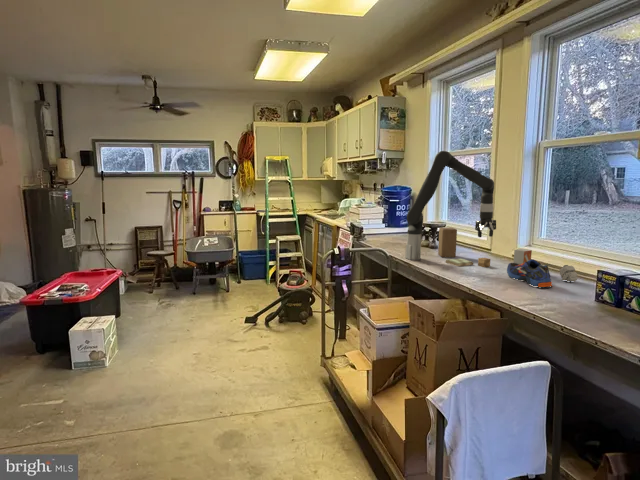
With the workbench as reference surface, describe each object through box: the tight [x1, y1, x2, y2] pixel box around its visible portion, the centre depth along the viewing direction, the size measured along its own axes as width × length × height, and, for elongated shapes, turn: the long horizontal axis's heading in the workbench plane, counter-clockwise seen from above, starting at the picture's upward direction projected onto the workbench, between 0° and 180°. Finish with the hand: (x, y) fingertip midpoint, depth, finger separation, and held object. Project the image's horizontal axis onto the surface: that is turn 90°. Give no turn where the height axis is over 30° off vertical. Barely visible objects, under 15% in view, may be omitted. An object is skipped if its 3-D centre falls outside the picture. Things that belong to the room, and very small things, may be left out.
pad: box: [445, 258, 474, 267], centre depth 267 cm, size 12×12×2 cm
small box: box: [513, 248, 532, 265], centre depth 245 cm, size 8×6×13 cm
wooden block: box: [437, 227, 458, 258], centre depth 290 cm, size 10×10×20 cm
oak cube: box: [477, 257, 491, 268], centre depth 259 cm, size 5×5×5 cm
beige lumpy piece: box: [559, 264, 578, 282], centre depth 222 cm, size 6×7×10 cm
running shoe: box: [506, 259, 553, 288], centre depth 222 cm, size 12×32×13 cm, turn 11°
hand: (485, 236), depth 259 cm, fingers open, 8 cm apart
